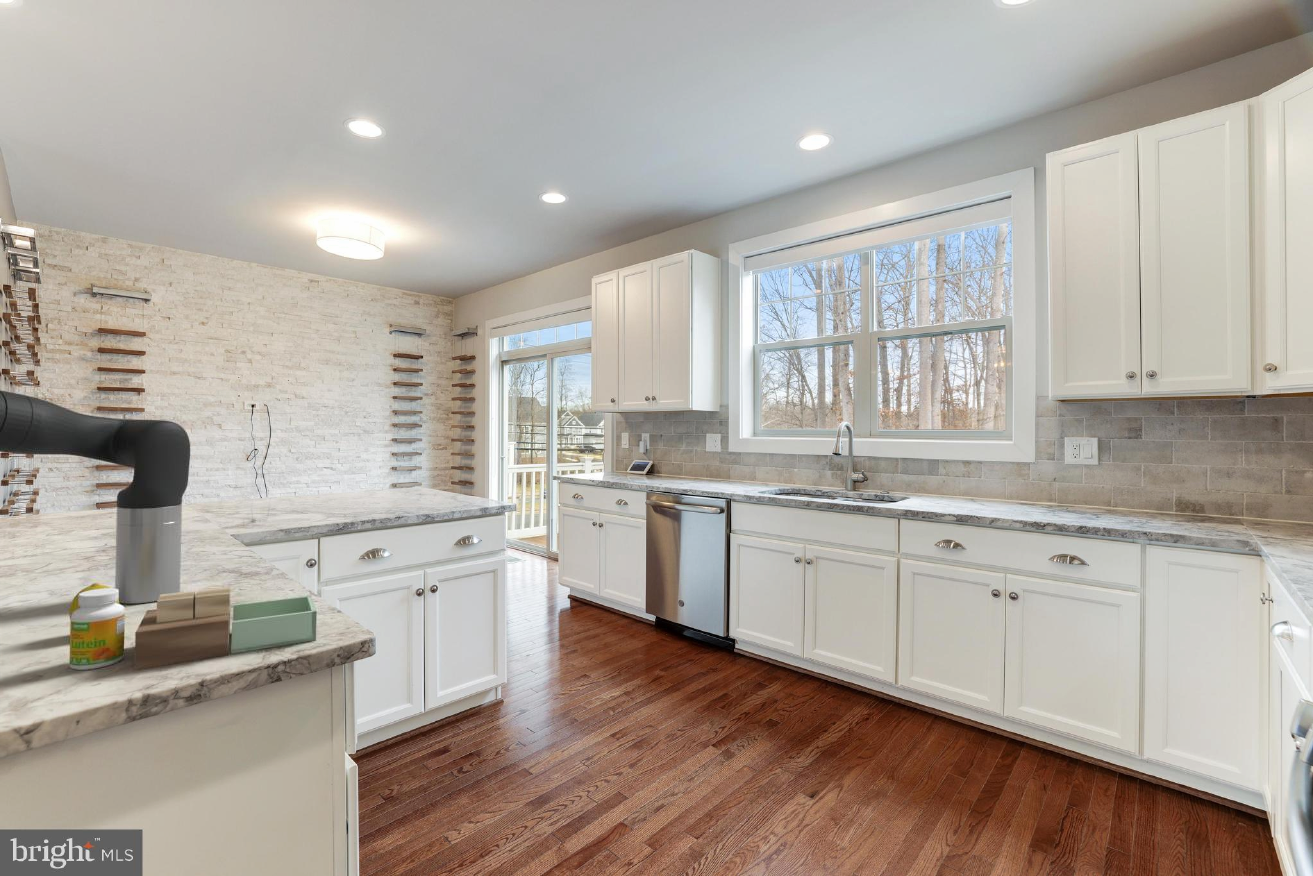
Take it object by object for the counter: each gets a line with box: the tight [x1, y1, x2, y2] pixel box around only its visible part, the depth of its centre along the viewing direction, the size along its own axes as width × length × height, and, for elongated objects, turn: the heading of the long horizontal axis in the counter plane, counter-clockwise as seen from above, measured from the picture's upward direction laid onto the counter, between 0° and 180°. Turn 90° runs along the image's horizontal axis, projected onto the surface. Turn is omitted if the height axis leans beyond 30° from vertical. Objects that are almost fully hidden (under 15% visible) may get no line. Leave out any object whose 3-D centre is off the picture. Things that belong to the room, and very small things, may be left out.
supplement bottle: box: [69, 587, 126, 671], centre depth 80 cm, size 5×5×10 cm
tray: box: [230, 595, 317, 654], centre depth 91 cm, size 10×11×4 cm
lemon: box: [68, 582, 120, 621], centre depth 90 cm, size 6×6×8 cm
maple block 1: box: [156, 590, 197, 623], centre depth 84 cm, size 4×4×3 cm
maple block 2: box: [195, 587, 231, 618], centre depth 87 cm, size 4×4×3 cm
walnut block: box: [134, 608, 231, 670], centre depth 85 cm, size 11×10×5 cm
